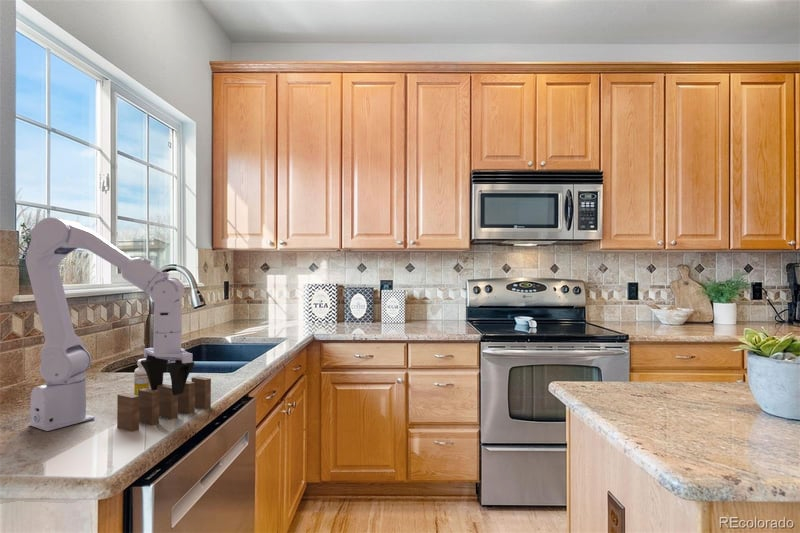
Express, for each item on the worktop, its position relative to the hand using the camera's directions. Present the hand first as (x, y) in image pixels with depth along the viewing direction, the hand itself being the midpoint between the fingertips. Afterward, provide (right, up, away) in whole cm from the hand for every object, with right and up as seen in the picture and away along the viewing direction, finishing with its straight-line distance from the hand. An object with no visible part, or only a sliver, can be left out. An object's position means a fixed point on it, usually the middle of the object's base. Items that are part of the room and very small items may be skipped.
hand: (167, 391), depth 108 cm
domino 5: (+4, -6, +8) cm, 11 cm away
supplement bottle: (-14, -6, +17) cm, 22 cm away
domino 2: (-2, -6, -4) cm, 7 cm away
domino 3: (0, -6, 0) cm, 6 cm away
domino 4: (+2, -6, +4) cm, 7 cm away
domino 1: (-4, -6, -8) cm, 11 cm away
